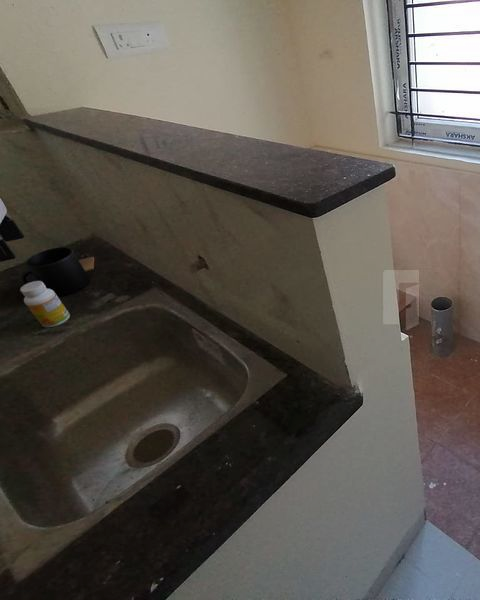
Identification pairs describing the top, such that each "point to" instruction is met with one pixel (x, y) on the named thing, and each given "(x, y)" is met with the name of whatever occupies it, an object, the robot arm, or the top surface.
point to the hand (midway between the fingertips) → (10, 249)
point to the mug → (57, 271)
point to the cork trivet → (87, 263)
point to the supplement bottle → (44, 304)
